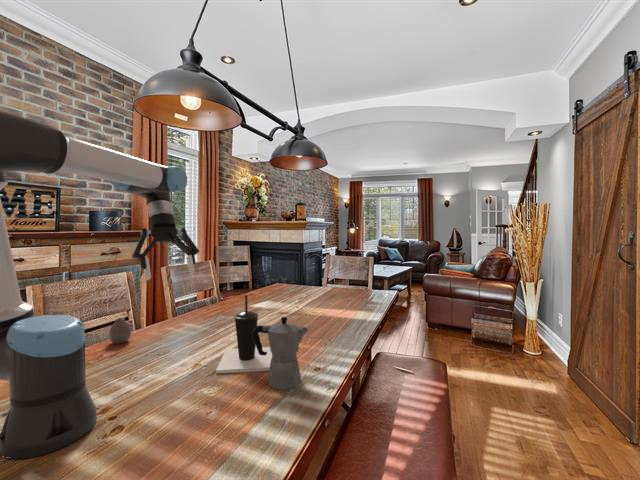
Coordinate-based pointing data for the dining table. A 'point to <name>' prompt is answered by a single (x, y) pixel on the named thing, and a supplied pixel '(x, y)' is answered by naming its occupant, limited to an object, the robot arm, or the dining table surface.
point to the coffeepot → (282, 353)
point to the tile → (244, 362)
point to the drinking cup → (246, 333)
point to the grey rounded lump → (120, 331)
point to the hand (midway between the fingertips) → (171, 276)
